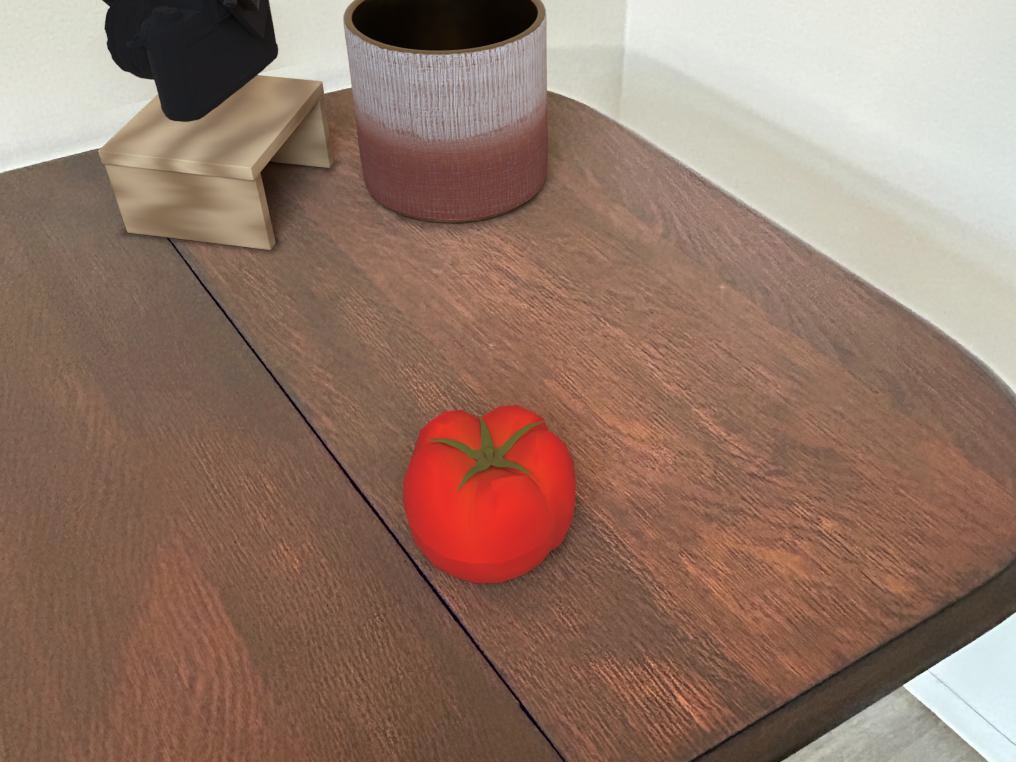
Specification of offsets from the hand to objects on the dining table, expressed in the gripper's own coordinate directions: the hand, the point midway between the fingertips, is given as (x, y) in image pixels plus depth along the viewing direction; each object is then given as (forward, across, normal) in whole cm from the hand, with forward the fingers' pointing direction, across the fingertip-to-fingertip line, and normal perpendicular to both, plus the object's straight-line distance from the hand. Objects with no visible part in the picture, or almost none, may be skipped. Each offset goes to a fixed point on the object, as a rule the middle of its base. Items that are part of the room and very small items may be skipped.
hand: (199, 15), depth 82 cm
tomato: (-12, +33, -37) cm, 51 cm away
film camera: (+1, 0, -5) cm, 5 cm away
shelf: (+15, -2, -10) cm, 18 cm away
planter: (+20, +17, -5) cm, 27 cm away
